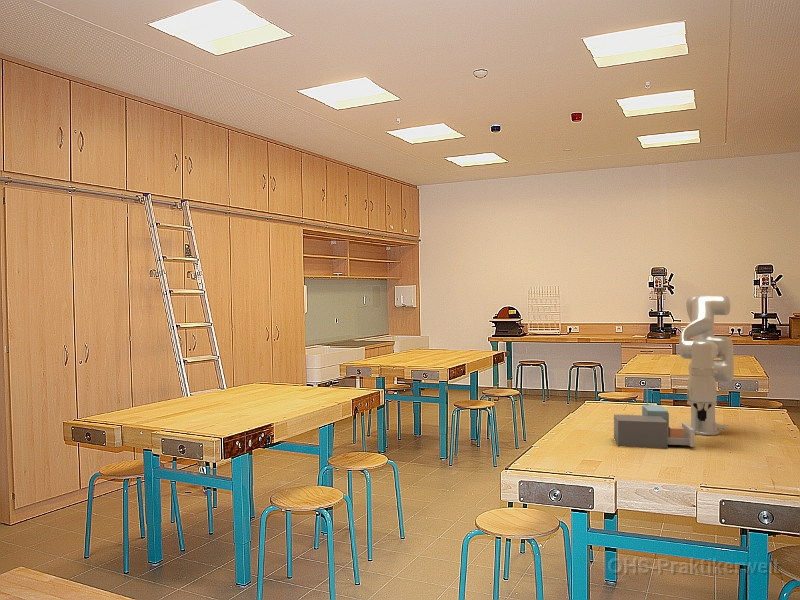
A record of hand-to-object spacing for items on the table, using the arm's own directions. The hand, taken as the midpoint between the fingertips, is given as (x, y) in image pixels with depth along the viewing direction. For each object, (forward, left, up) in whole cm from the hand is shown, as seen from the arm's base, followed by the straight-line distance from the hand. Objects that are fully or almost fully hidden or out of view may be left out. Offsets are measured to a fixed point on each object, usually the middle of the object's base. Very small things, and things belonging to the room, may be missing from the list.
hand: (701, 420), depth 261 cm
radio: (+14, -19, -10) cm, 26 cm away
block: (+9, -1, -8) cm, 12 cm away
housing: (+23, -1, -10) cm, 25 cm away
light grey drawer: (+13, -1, -9) cm, 16 cm away
